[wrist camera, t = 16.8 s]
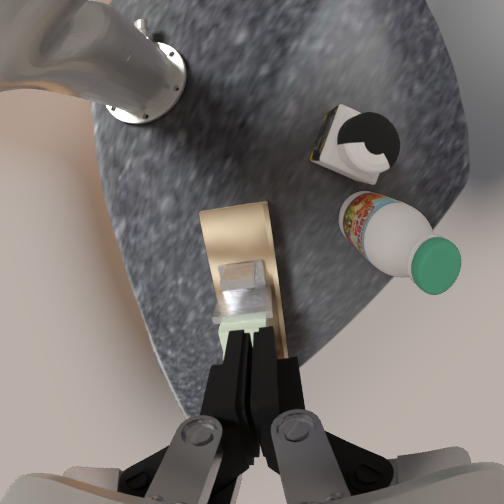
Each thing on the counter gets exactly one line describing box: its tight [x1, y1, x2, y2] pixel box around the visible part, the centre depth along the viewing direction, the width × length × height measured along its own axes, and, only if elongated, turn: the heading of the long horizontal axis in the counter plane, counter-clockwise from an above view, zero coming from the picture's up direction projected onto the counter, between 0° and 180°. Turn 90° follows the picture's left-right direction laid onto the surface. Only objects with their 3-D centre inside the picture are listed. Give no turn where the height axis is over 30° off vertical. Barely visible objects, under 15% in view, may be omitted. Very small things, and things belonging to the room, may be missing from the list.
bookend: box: [212, 259, 273, 324], centre depth 36 cm, size 5×7×7 cm
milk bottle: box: [339, 191, 461, 295], centre depth 28 cm, size 8×8×20 cm
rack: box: [199, 201, 288, 361], centre depth 37 cm, size 24×9×9 cm, turn 9°
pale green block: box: [218, 318, 269, 356], centre depth 37 cm, size 4×6×9 cm
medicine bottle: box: [310, 104, 400, 185], centre depth 29 cm, size 7×7×12 cm
